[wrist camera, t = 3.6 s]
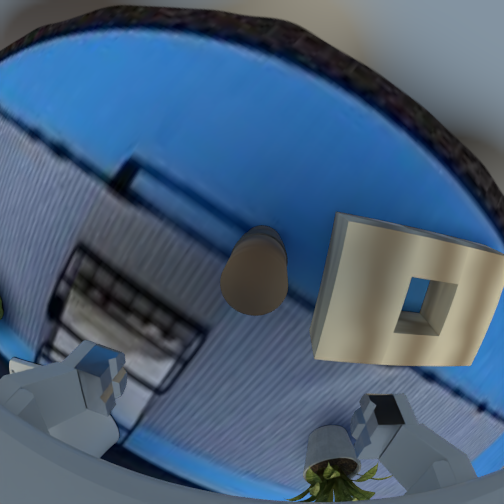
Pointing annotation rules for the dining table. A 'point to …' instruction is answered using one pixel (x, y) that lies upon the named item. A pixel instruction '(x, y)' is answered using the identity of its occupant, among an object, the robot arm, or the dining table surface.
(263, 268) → the peg
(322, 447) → the house plant
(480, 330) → the seat block
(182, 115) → the dining table surface
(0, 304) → the plant pot
